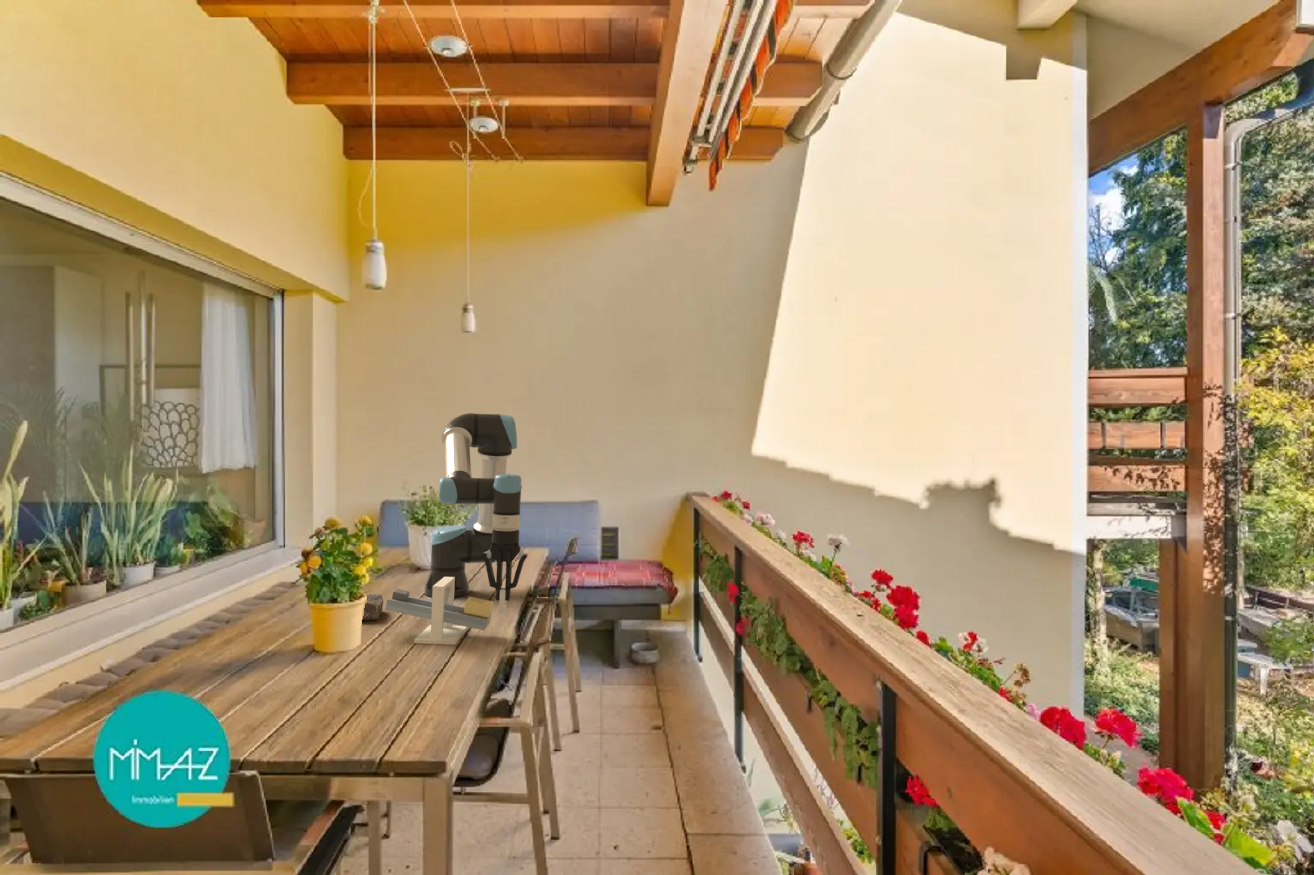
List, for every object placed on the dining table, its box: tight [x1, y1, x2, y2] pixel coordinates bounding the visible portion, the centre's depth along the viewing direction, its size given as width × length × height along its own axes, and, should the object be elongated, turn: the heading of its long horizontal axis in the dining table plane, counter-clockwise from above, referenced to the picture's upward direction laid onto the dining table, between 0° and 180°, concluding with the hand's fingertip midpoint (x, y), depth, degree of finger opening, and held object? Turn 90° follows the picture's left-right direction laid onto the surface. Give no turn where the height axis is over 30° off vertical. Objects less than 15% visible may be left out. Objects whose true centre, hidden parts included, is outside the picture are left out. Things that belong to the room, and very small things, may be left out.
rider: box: [463, 596, 494, 623], centre depth 194 cm, size 4×7×6 cm, turn 92°
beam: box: [384, 586, 492, 631], centre depth 194 cm, size 8×28×8 cm, turn 92°
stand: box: [414, 577, 468, 645], centre depth 194 cm, size 14×11×16 cm
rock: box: [363, 593, 384, 621], centre depth 210 cm, size 13×6×15 cm
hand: (502, 611), depth 195 cm, fingers closed
